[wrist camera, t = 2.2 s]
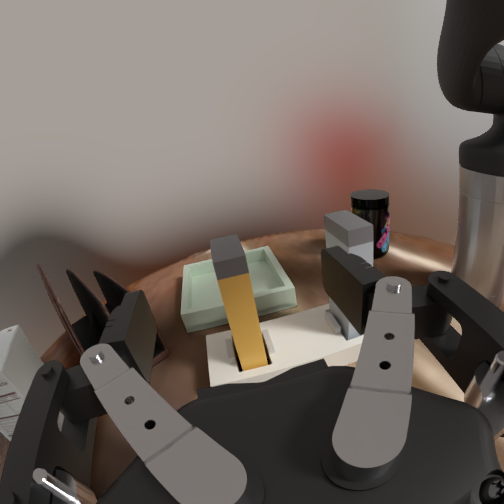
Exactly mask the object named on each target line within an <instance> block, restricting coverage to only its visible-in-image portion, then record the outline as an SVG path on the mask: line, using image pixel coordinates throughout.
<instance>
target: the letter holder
mask: <svg viewBox="0 0 504 504" xmlns="http://www.w3.org/2000/svg"><path fill="white" fill-rule="evenodd" d="M37 267H38V270H39V272H40V275H41V277H42V280H43V282H44V285H45V287H46V290H47V292H48V295H49V297H50V299H51V301H52V304H53V305H54V307H55V310H56V312H57V314H58V316H59V318H60V320H61V322H62V324H63V326H64V328H65V330H66V331H67V333H68V335H69V336H70V338H71V340H72V342H73V343H74V345H75V347H76V348H77V350H78V352H79V353H80V355H81V356H82V355H83V353H84V352H85V351H86V350H87V349H89V348H90V347H92V346H94V345H97V344H99V341H100V338H101V336H102V333H103V331H104V328H106V327H105V326H106V323H107V322H108V319H109V316H110V314H111V312H112V311H113V310H114V309H115V308H116V307H117V306H120V305H121V303H122V301H123V298H124V296H125V294H126V293H129V292H130V291H129V290H128V289H126V288H125V287H124V286H122V285H121V284H120V283H118V282H117V281H115V280H114V279H113V278H111V277H110V276H108V275H106V274H104V273H103V272H101V271H99V270H94V271H93V273H94V276H95V277H96V279H97V282H98V284H99V286H100V288H101V290H102V292H103V294H104V297H105V298H106V301H107V303H106V304H105V305H104V304H103V302H102V301H101V300H100V299H99V298H98V296H97V295H96V294H95V293H94V292H93V291H92V290H91V289H90V288H89V286H88V285H87V284H86V283H85V282H84V281H83V280H82V279H81V278H80V277H79V276H78V275H77V274H76V273H75V272H74V271H72V270H71V269H69V268H68V269H67V270H66V273H67V275H68V277H69V280H70V282H71V284H72V287H73V289H74V291H75V293H76V295H77V297H78V299H79V301H80V303H81V306H82V307H83V310H84V311H85V313H86V316H85V317H83V318H82V319H81V320H79V321H77V322H75V323H74V324H72V325H71V324H70V322H69V320H68V318H67V316H66V314H65V312H64V310H63V308H62V306H61V303H60V301H59V299H58V297H57V295H56V293H55V291H54V289H53V287H52V285H51V283H50V281H49V279H48V277H47V275H46V273H45V271H44V270H43V268H42V266H41V265H40V264H38V265H37ZM156 327H157V325H156ZM169 354H170V352H169V349H168V348H167V345H166V344H165V342H164V340H163V338H162V336H161V334H160V332H159V330H158V328H157V334H156V341H155V347H154V354H153V361H152V367H153V366H155V365H156V364H157V363H159V362H160V361H162V360H163V359H164V358H166V357H167V356H169Z"/></svg>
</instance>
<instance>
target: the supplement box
mask: <svg viewBox="0 0 504 504" xmlns="http://www.w3.org/2000/svg"><path fill="white" fill-rule="evenodd" d="M42 365H44V363H43V362H42V360H41V359H40V357H39V356H38V355H37V353H36V352H35V350H34V349H33V347H32V346H31V344H30V342H29V341H28V339H27V337H26V336H25V334H24V333H23V331H22V329H21V328H20V326H19V325H16V326H12V327H9V328H7V329H4V330H2V331H0V432H1V433H2V434H3V435H4V436H5V437H6V438H7V439H8V440H9V441H10V442H11V438H12V435H13V432H14V429H15V426H16V423H17V420H18V417H19V414H20V411H21V409H22V406H23V403H24V401H25V398H26V396H27V393H28V391H29V388H30V386H31V383H32V381H33V379H34V376H35V374H36V372H37V370H38V369H39V368H40V367H41V366H42ZM63 420H64V416H63V414H62V413H61V412H60V413H59V416H58V427H59V430H60V432H61V429H62V424H63Z"/></svg>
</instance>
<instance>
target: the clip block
mask: <svg viewBox="0 0 504 504" xmlns="http://www.w3.org/2000/svg"><path fill="white" fill-rule="evenodd" d="M259 324H260V329H261V333H262V338H263V343H264V347H265V350H266V353H267V356H268V359H269V362H270V365H266V366H263V367H259V368H255V369H251V370H246V371H242V372H240V368H239V364H238V359H237V354H236V351H237V349H236V346H235V343H234V339H233V336H232V332H231V330H228V331H224V332H219V333H215V334H210V335H206V344H207V355H208V366H209V377H210V386H211V387H213V386H218V385H223V384H228V383H258V382H264V381H267V380H269V379H271V378H273V377H275V376H277V375H279V374H281V373H284V372H286V371H288V370H290V369H291V368H293V367H297V366H300V365H304V364H307V363H310V362H313V361H317V360H320V359H323V358H324V360H325V361H326V363H327V365H328V366H345V365H348V364H350V363H353V362H356V361H357V360H358V357H359V353H360V349H361V345H362V341H363V337H364V335H362V336H359V337H356V338H353V339H351V340H348V341H346V340H345V338H344V337H343V335H342V334H341V326H340V325H339V324H338V322H337V321H336V320H335V318H334V317H333V315H332V314H331V313H330V311H329V304H326V305H322V306H319V307H316V308H312V309H309V310H305V311H302V312H298V313H295V314H291V315H287V316H284V317H280V318H276V319H272V320H269V321H265V322H261V323H259Z"/></svg>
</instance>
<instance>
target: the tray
mask: <svg viewBox="0 0 504 504" xmlns="http://www.w3.org/2000/svg"><path fill="white" fill-rule="evenodd" d="M244 253H245V255H246V260H247V265H248V270H249V275H250V280H251V285H252V290H253V295H254V299H255V304H256V309H257V314H258V316H262V315H266V314H270V313H274V312H278V311H281V310H285V309H289V308H292V307H296V306H297V302H296V294H295V287H294V285H293V284H292V282H291V281H290V279H289V278H288V276H287V274H286V273H285V271H284V270H283V268H282V267H281V265H280V264H279V262H278V260H277V259H276V257H275V256H274V254H273V253H272V251H271V250H270V248H269V246H265V247H261V248H257V249H252V250H248V251H244ZM181 318H182V320H183V323H184V325H185V328H186V331H187V333H189V332H194V331H198V330H203V329H208V328H212V327H216V326H221V325H225V324H229V322H228V318H227V314H226V311H225V307H224V304H223V300H222V296H221V293H220V289H219V285H218V281H217V278H216V274H215V270H214V266H213V261H212V259H210V260H206V261H201V262H197V263H193V264H189V265H184V271H183V284H182V299H181Z"/></svg>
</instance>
